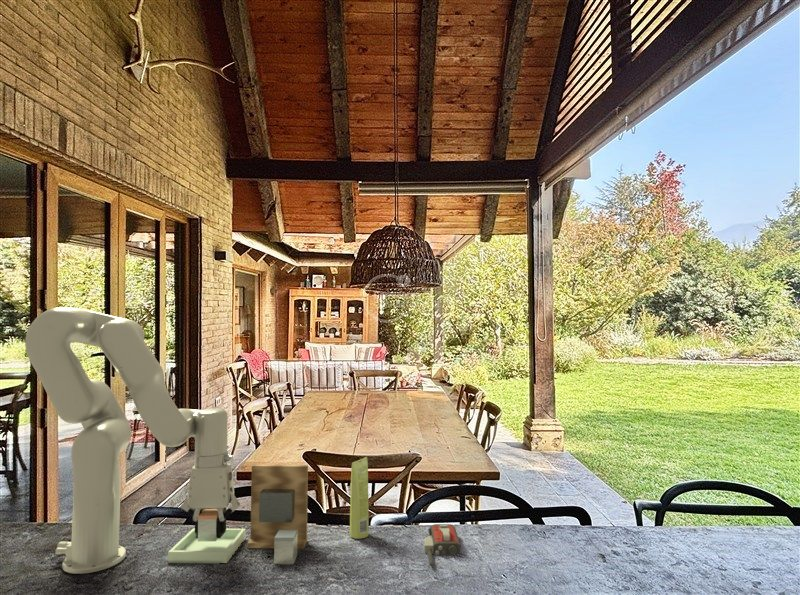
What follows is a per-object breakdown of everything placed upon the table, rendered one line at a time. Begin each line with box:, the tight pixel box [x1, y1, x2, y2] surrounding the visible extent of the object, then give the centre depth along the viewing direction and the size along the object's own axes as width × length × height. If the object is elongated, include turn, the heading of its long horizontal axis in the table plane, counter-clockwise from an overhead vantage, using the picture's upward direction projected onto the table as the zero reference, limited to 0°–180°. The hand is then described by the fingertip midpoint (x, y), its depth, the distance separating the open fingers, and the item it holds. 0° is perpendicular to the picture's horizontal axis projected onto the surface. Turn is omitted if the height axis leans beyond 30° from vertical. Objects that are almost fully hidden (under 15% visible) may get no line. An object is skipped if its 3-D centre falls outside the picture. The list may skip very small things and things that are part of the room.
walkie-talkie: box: [423, 523, 462, 568], centre depth 123 cm, size 9×4×20 cm
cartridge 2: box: [273, 530, 298, 565], centre depth 118 cm, size 4×4×6 cm
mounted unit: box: [246, 464, 309, 550], centre depth 126 cm, size 14×5×19 cm, turn 89°
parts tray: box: [167, 527, 247, 564], centre depth 123 cm, size 14×14×2 cm
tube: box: [349, 456, 370, 540], centre depth 132 cm, size 6×5×20 cm
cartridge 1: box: [198, 509, 219, 541], centre depth 123 cm, size 4×4×6 cm
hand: (210, 535), depth 123 cm, fingers closed on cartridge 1, 4 cm apart
